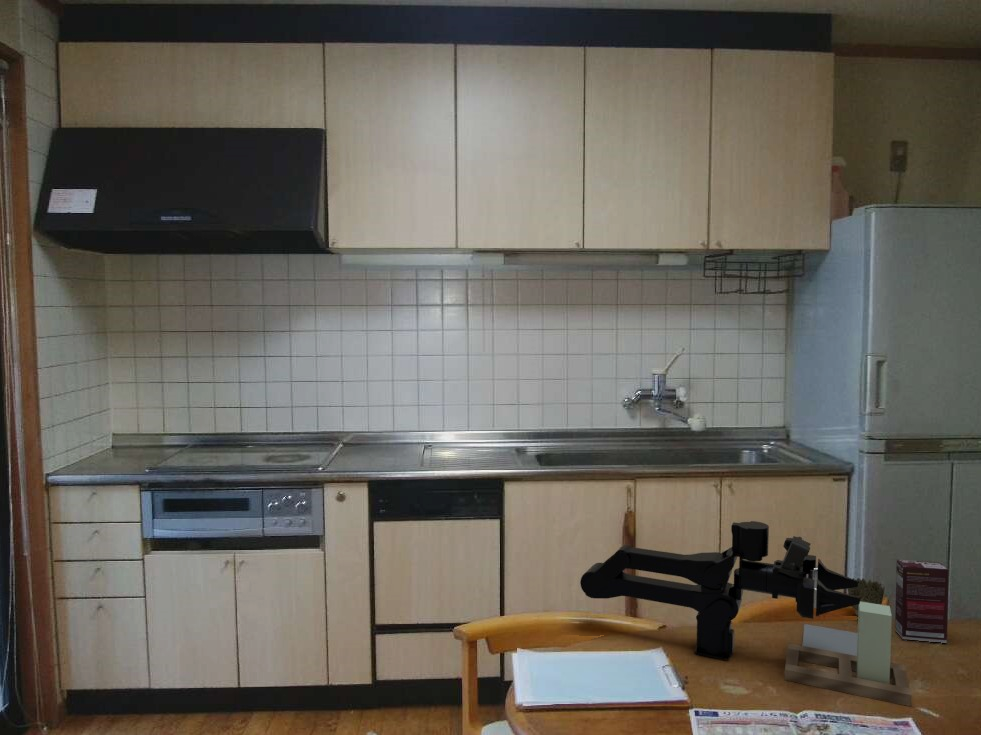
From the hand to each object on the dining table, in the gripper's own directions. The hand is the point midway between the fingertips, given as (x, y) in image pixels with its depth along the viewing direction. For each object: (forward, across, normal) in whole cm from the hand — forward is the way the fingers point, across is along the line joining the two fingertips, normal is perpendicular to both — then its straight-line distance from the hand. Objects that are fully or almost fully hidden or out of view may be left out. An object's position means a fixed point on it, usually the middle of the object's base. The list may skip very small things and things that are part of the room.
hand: (858, 592), depth 127 cm
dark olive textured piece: (+3, +32, +17) cm, 36 cm away
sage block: (+3, 0, +17) cm, 17 cm away
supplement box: (+13, +26, +17) cm, 33 cm away
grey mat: (-3, +14, +16) cm, 22 cm away
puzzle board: (-2, 0, +16) cm, 17 cm away
